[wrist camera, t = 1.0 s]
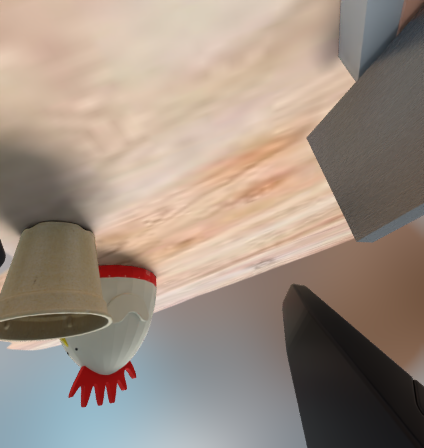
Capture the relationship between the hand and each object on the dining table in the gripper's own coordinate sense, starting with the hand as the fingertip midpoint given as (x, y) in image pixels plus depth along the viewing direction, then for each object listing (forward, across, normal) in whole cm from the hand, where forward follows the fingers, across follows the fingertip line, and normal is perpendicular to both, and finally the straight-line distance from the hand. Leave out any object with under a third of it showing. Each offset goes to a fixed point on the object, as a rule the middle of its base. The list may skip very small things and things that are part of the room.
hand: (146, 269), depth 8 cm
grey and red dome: (+21, -11, -25) cm, 35 cm away
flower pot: (+14, -12, -12) cm, 22 cm away
